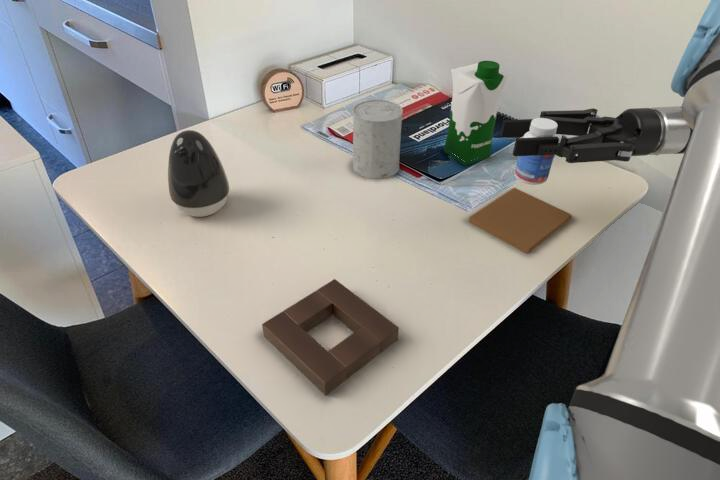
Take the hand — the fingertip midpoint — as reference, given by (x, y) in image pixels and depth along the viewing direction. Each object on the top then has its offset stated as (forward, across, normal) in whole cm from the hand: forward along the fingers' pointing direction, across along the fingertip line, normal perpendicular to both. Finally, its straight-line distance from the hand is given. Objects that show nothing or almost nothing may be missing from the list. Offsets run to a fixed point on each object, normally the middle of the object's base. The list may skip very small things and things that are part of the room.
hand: (508, 137), depth 82 cm
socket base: (+30, -24, -16) cm, 42 cm away
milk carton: (-2, +24, -17) cm, 29 cm away
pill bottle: (-5, 0, -8) cm, 9 cm away
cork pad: (-5, 0, -16) cm, 17 cm away
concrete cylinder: (+18, +21, -17) cm, 32 cm away
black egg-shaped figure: (+51, +9, -17) cm, 54 cm away
